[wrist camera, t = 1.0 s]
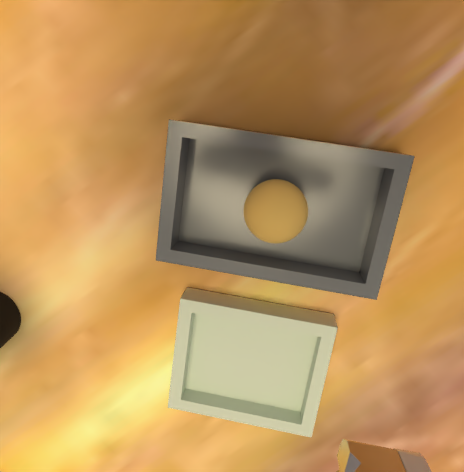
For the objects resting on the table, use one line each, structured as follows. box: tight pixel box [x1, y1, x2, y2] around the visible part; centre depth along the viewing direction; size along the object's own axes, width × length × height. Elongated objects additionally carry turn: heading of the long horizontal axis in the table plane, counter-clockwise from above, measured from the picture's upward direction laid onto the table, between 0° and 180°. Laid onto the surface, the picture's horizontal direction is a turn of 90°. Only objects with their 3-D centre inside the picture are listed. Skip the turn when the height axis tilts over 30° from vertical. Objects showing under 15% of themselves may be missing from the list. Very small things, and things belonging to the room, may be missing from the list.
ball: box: [244, 179, 308, 243], centre depth 27 cm, size 4×4×4 cm
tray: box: [168, 287, 338, 437], centre depth 32 cm, size 10×12×2 cm
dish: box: [156, 120, 414, 300], centre depth 29 cm, size 10×16×3 cm, turn 82°
